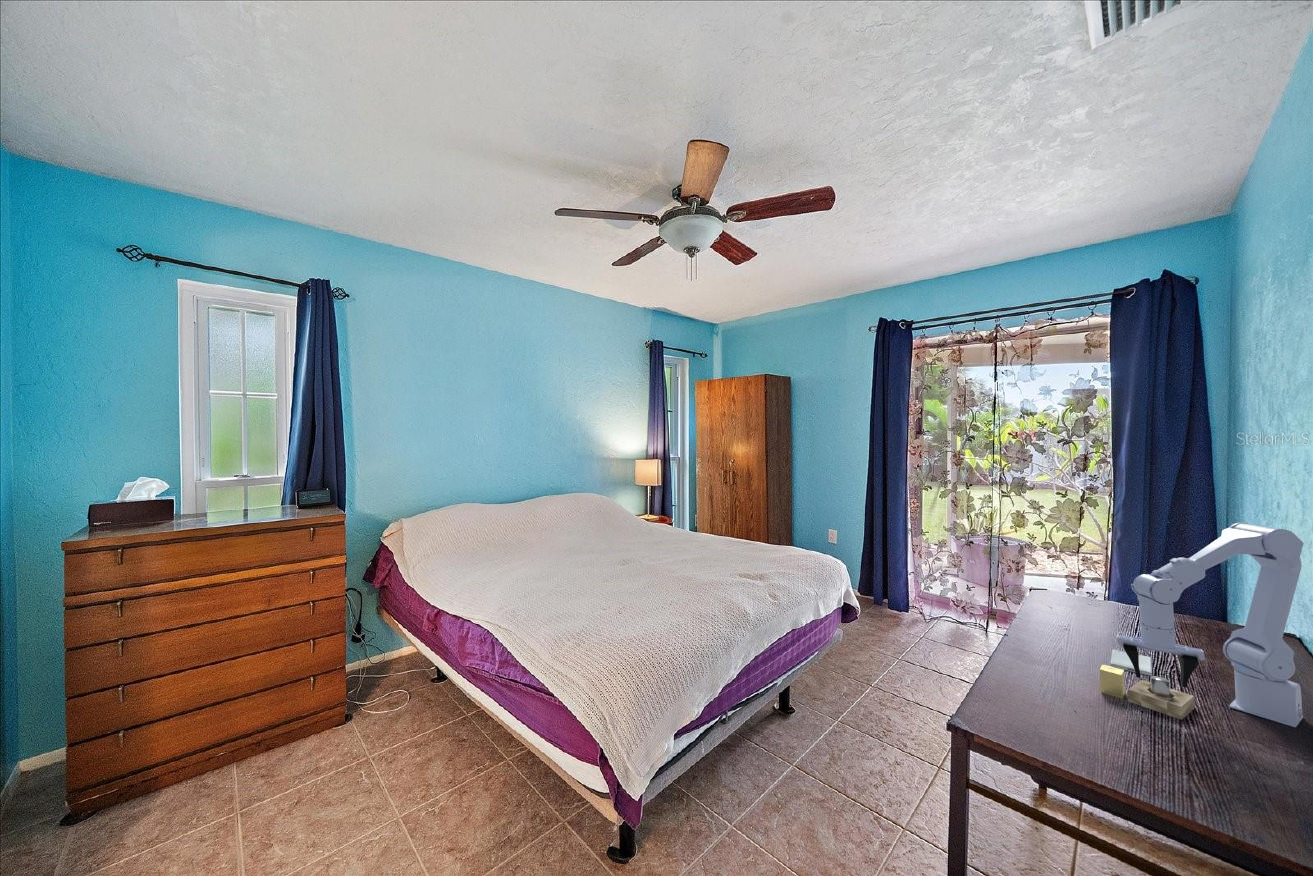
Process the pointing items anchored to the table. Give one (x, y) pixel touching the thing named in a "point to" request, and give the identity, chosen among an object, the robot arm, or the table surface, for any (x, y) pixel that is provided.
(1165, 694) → the round peg
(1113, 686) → the square bit
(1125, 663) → the hard drive
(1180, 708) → the socket block
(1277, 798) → the table surface
